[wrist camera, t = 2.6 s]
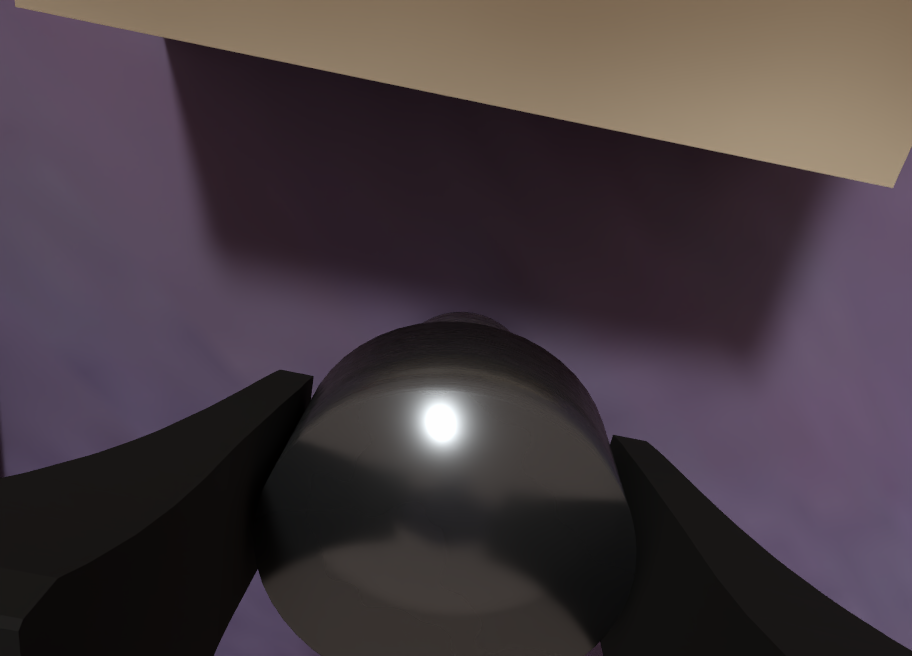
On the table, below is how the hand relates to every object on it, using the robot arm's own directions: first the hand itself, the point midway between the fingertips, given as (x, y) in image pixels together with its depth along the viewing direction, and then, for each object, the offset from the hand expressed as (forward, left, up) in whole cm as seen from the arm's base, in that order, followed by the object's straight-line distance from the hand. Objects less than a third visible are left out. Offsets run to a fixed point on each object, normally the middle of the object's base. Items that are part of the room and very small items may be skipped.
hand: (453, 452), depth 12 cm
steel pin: (0, 0, -3) cm, 3 cm away
